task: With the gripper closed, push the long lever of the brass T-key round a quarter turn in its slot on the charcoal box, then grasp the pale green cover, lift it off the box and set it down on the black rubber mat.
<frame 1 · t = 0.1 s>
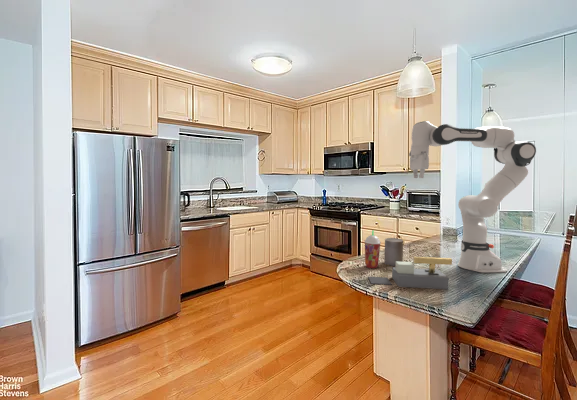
hand: (418, 178, 164), 48 cm above the countertop, tool pointing down, fingers open, 8 cm apart
mat: (379, 281, 140), on the countertop
housing: (418, 283, 139), on the countertop
pillar candle: (392, 264, 169), on the countertop
cover: (404, 271, 139), point 5 cm above the countertop, touching housing
key: (432, 265, 137), point 9 cm above the countertop, hinge at 0.0°
smoothie: (371, 267, 162), on the countertop
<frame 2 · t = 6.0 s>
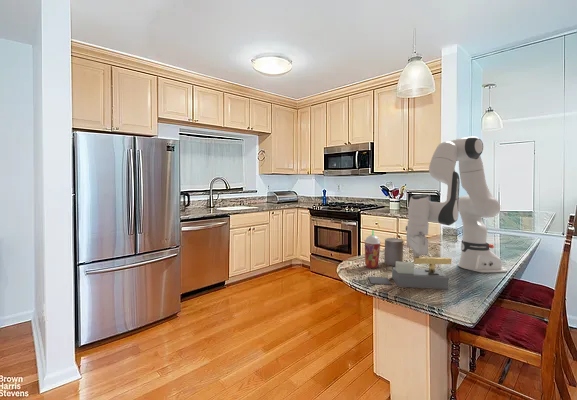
hand: (416, 259, 139), 10 cm above the countertop, tool pointing down, fingers closed
key: (432, 265, 137), point 9 cm above the countertop, hinge at 5.1°, touching gripper
everything else where it was.
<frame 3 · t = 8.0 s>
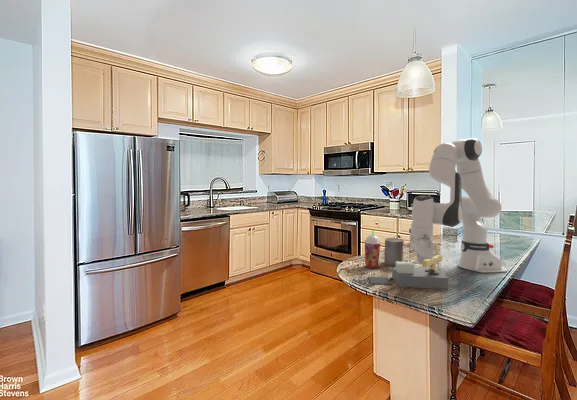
hand: (420, 263, 134), 10 cm above the countertop, tool pointing down, fingers closed
key: (432, 265, 137), point 9 cm above the countertop, hinge at 47.2°, touching gripper
everything else where it was.
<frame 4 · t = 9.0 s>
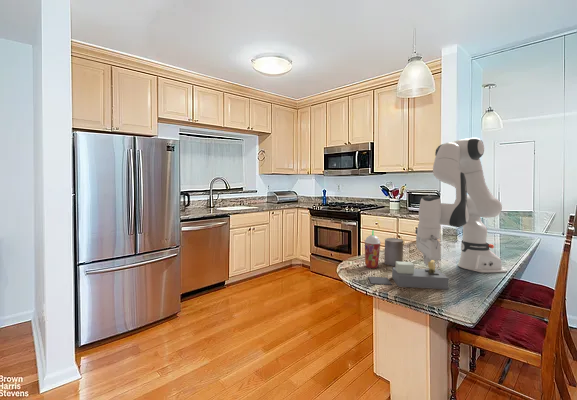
hand: (426, 264, 132), 10 cm above the countertop, tool pointing down, fingers closed, pressing on key
key: (432, 265, 137), point 9 cm above the countertop, hinge at 66.4°, touching gripper
everything else where it was.
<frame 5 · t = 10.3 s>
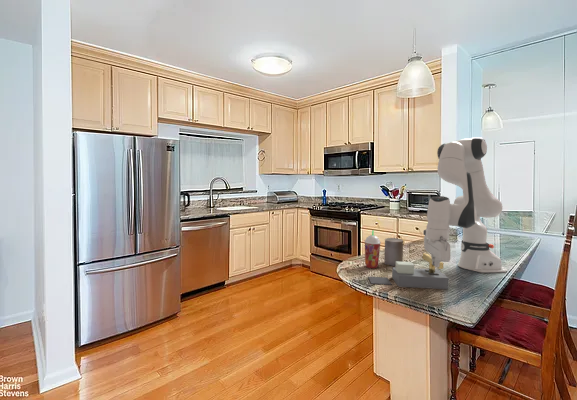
hand: (435, 266, 130), 10 cm above the countertop, tool pointing down, fingers closed, pressing on key
key: (432, 265, 137), point 9 cm above the countertop, hinge at 95.2°, touching gripper
everything else where it was.
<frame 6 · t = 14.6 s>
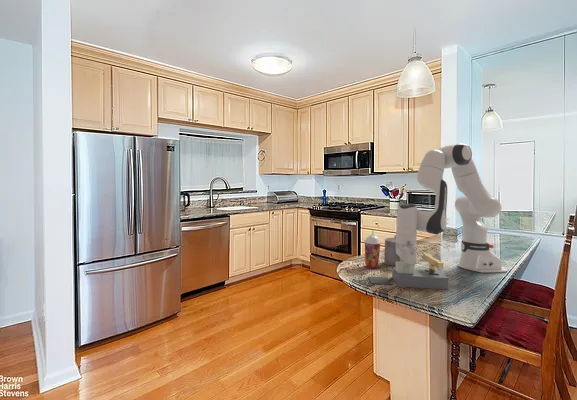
hand: (404, 269, 139), 6 cm above the countertop, tool pointing down, fingers closed on cover, 5 cm apart
cover: (404, 271, 139), point 5 cm above the countertop, touching gripper, housing
key: (432, 265, 137), point 9 cm above the countertop, hinge at 95.2°
everything else where it was.
when the fingers open (3 cm above the countertop, at t = 21.0 s): cover drops 1 cm, resting on mat.
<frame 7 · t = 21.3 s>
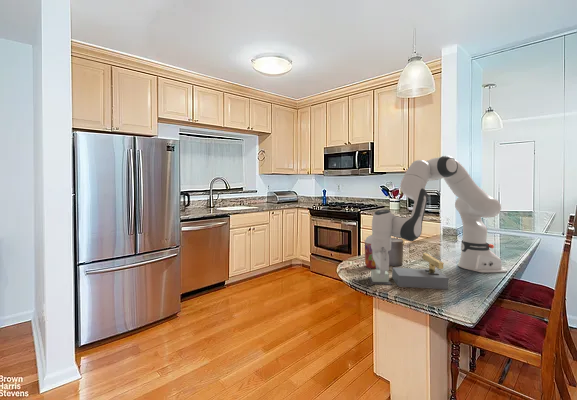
hand: (379, 274, 140), 3 cm above the countertop, tool pointing down, fingers open, 8 cm apart
cover: (379, 280, 140), resting on mat
everything else where it was.
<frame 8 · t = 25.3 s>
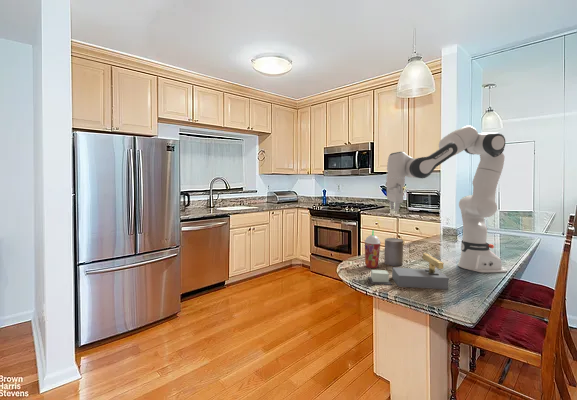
hand: (394, 210, 157), 31 cm above the countertop, tool pointing down, fingers open, 8 cm apart
nothing on the countertop moved.
at the end: key at +95° (first picture: +0°); cover inside the target area on the mat (0.0 cm from its centre), point 0.4 cm above the mat's base; cover touching mat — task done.
